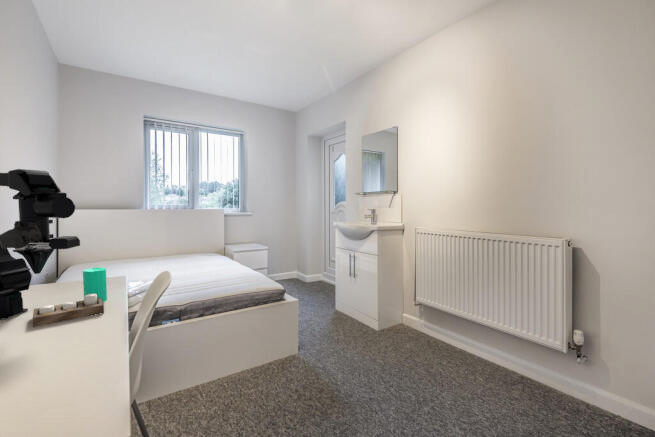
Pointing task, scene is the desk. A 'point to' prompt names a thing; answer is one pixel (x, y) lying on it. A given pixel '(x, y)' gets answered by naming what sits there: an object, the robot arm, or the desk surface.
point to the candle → (95, 282)
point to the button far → (90, 299)
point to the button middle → (69, 305)
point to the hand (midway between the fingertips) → (37, 273)
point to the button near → (46, 309)
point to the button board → (67, 313)
